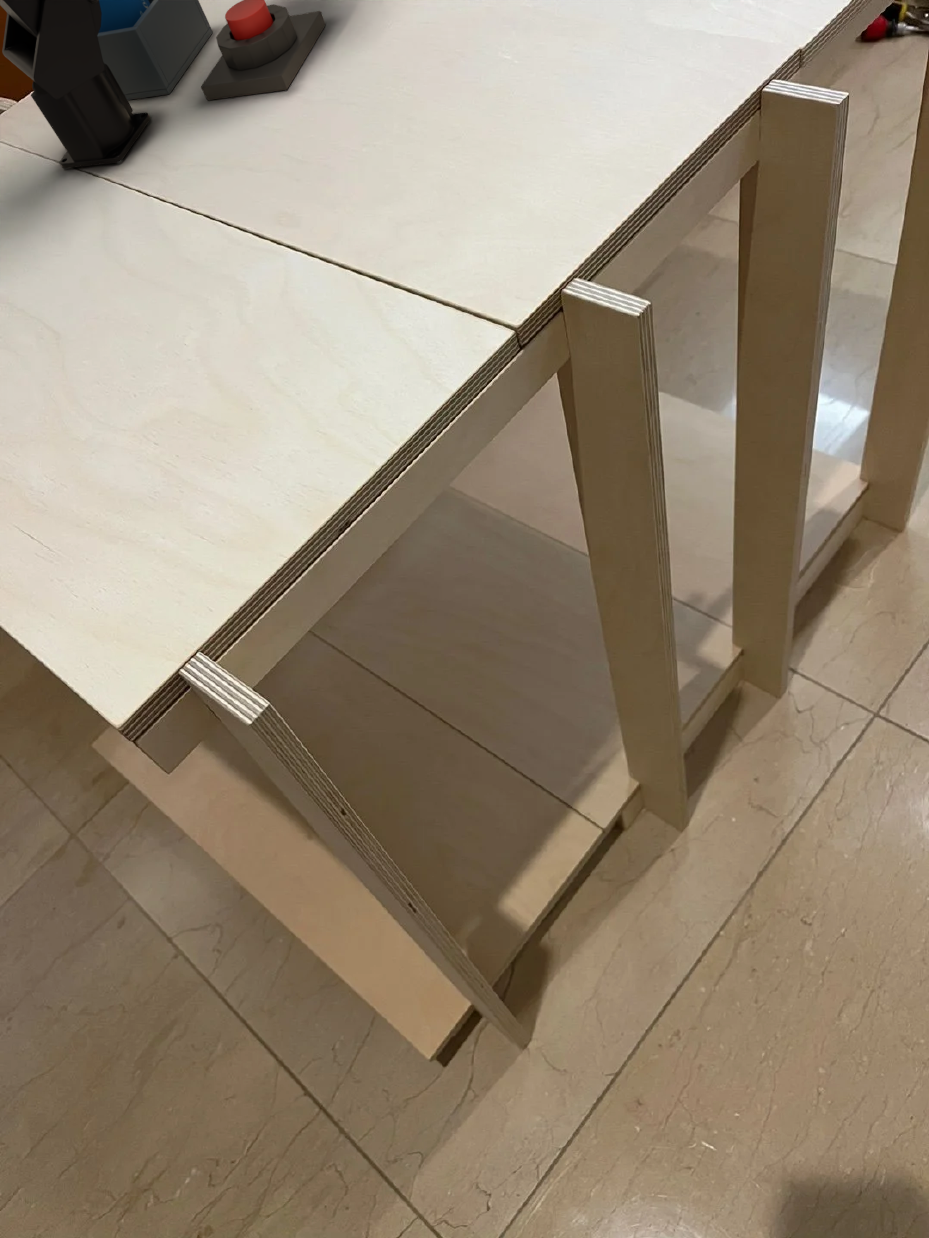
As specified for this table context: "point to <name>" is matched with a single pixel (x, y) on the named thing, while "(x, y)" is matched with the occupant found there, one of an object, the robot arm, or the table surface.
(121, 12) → the beverage can
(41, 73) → the robot arm
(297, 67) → the panel
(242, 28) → the button
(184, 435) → the table surface
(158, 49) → the basket
